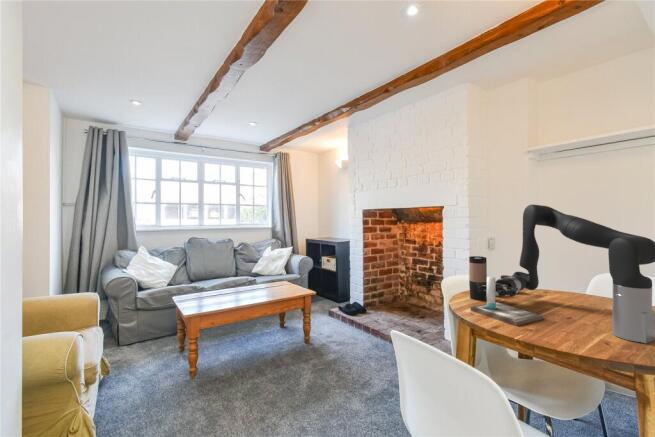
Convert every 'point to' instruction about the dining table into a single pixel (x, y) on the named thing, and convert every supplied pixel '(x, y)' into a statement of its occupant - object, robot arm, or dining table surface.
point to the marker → (491, 293)
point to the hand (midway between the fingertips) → (488, 291)
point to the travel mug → (477, 276)
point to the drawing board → (508, 314)
